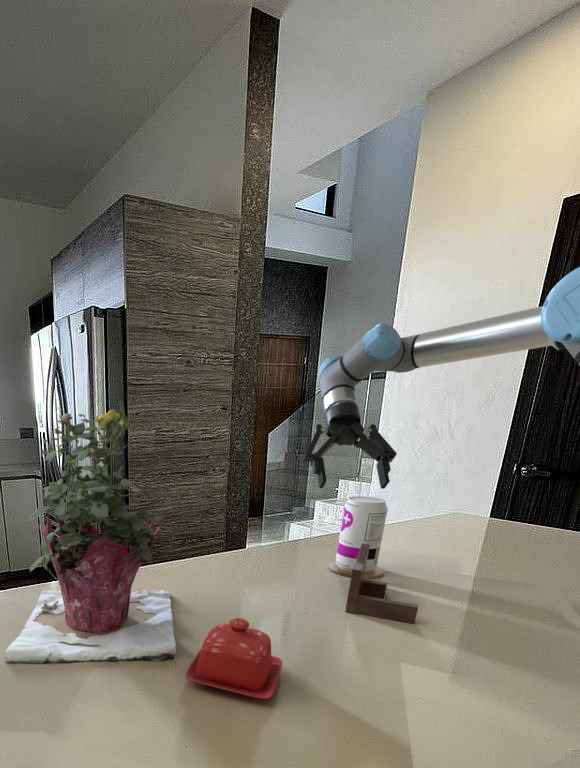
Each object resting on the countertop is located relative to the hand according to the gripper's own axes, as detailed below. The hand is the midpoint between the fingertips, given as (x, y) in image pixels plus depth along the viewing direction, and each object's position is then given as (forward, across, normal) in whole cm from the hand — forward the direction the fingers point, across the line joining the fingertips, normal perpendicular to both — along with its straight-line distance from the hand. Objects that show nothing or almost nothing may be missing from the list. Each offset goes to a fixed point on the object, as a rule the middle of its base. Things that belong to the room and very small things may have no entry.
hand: (354, 485), depth 107 cm
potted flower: (+40, +53, +15) cm, 68 cm away
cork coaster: (+18, 0, -6) cm, 19 cm away
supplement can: (+18, 0, -6) cm, 19 cm away
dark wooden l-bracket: (+30, +1, +6) cm, 31 cm away
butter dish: (+50, +32, +26) cm, 65 cm away
